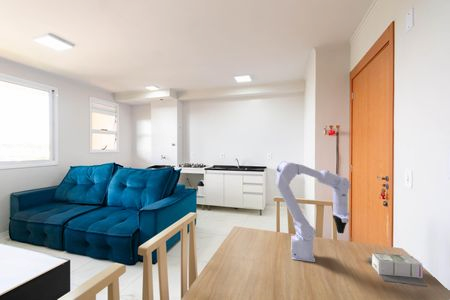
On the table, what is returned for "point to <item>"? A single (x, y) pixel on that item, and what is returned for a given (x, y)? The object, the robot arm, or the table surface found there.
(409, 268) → the syrup box
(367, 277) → the table surface
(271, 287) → the table surface
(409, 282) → the mat
